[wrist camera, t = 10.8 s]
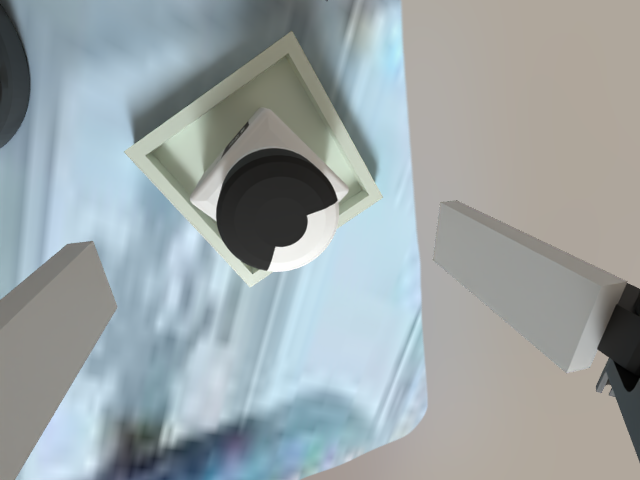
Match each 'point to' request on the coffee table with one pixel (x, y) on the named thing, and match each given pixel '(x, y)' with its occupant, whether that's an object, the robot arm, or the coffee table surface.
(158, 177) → the parts tray
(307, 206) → the container
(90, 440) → the coffee table surface
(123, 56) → the coffee table surface
